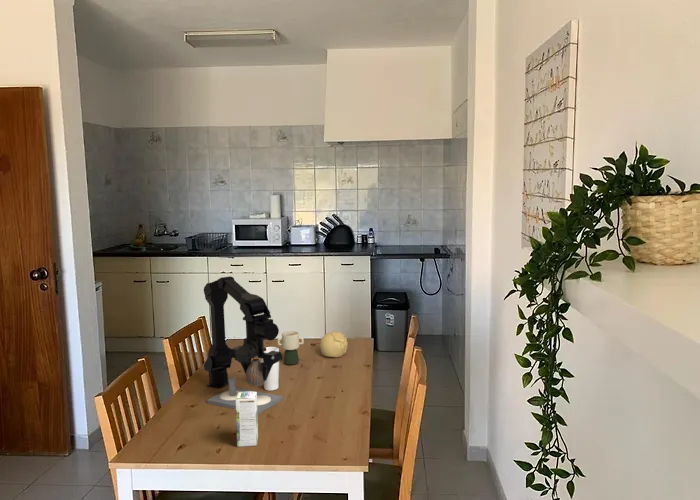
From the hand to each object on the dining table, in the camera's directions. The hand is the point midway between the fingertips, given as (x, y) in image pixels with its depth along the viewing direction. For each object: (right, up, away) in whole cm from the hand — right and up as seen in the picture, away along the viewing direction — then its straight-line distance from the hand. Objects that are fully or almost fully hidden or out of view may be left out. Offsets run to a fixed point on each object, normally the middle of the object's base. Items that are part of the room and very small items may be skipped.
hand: (256, 378), depth 197 cm
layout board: (-5, -9, +4) cm, 10 cm away
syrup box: (+2, -13, -28) cm, 31 cm away
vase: (0, -2, 0) cm, 2 cm away
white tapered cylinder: (+3, -7, +15) cm, 17 cm away
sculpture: (+25, -2, +54) cm, 60 cm away
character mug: (+7, -4, +44) cm, 45 cm away
